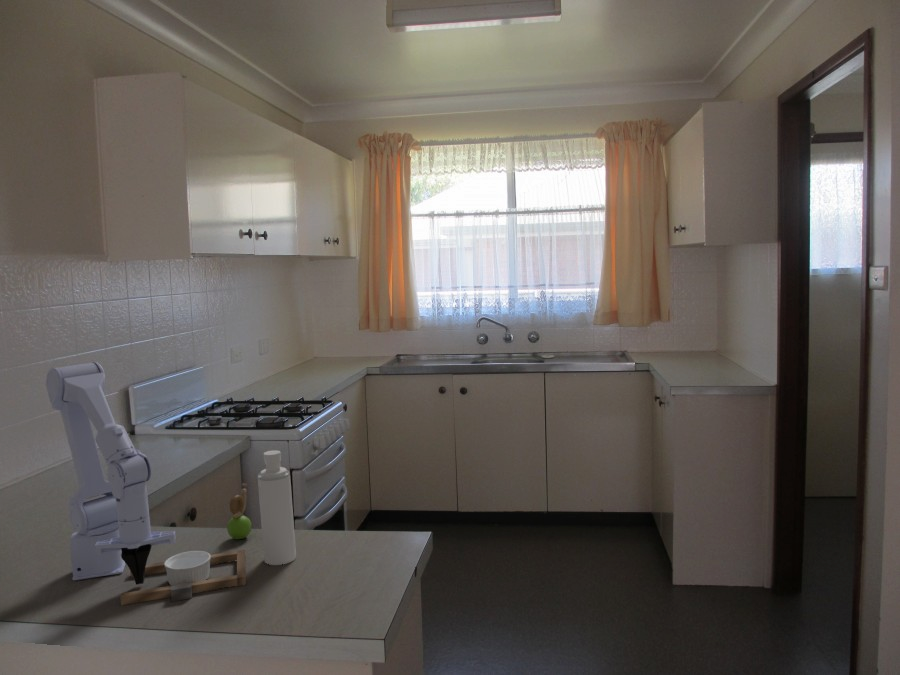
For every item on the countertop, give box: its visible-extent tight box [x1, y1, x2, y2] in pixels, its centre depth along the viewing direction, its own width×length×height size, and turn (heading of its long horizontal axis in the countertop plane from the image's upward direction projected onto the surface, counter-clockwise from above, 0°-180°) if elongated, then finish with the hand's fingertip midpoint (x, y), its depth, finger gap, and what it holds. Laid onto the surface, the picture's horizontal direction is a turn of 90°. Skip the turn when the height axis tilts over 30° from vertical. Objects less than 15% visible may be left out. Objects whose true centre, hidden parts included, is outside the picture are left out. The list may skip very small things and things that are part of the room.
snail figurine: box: [226, 483, 252, 540], centre depth 166 cm, size 5×6×12 cm
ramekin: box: [164, 550, 212, 586], centre depth 146 cm, size 9×9×4 cm
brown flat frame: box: [119, 549, 247, 606], centre depth 146 cm, size 23×18×2 cm
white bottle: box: [257, 450, 297, 566], centre depth 153 cm, size 7×7×25 cm
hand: (140, 582), depth 144 cm, fingers closed
